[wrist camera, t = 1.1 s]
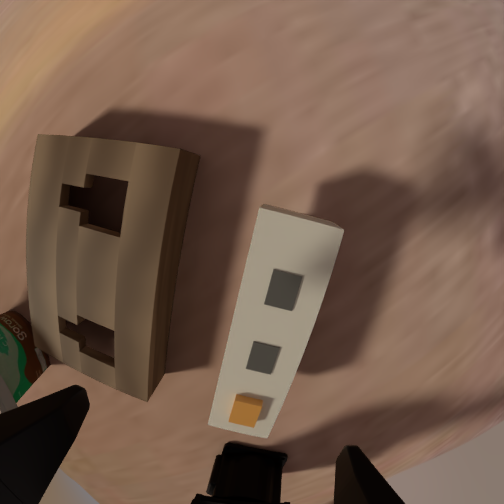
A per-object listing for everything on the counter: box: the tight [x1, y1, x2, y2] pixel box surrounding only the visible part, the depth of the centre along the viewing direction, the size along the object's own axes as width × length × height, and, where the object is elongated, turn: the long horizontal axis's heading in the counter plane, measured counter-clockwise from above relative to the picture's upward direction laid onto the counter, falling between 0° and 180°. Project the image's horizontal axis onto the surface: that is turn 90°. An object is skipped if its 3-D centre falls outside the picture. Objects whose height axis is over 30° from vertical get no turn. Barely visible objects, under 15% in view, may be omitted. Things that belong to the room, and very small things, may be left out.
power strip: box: [208, 204, 344, 438], centre depth 17 cm, size 4×14×7 cm, turn 167°
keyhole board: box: [26, 134, 200, 402], centre depth 19 cm, size 12×18×4 cm, turn 167°
